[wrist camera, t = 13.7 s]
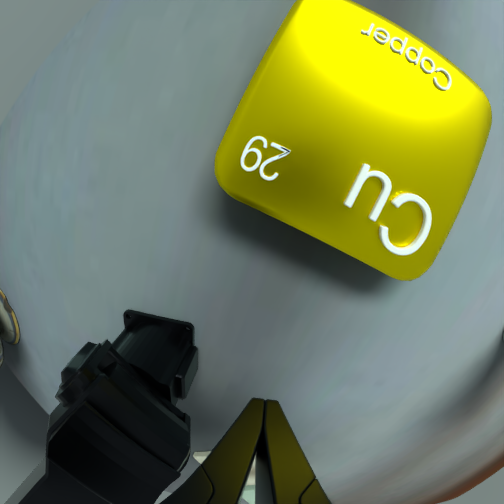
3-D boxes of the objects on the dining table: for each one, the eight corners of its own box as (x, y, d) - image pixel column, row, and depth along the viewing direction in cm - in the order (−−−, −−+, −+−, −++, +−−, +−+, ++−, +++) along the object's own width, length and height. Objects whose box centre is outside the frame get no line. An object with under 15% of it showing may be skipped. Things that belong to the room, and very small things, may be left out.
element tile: (467, 109, 16) (503, 102, 11) (395, 269, 20) (420, 296, 16) (303, 10, 15) (307, -23, 10) (217, 180, 20) (198, 185, 15)
